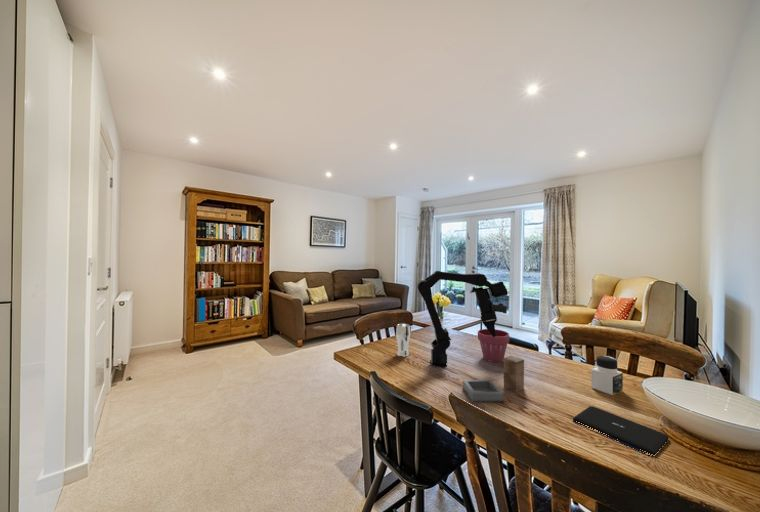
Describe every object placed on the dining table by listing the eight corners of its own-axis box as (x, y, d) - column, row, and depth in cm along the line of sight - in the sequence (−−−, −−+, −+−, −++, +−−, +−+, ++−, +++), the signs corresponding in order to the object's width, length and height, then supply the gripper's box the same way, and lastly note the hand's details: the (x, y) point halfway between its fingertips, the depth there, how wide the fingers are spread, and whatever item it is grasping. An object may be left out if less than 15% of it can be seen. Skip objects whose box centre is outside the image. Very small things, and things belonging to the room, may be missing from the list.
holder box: (472, 402, 96) (472, 393, 96) (462, 388, 106) (463, 380, 106) (503, 402, 96) (503, 393, 96) (490, 387, 106) (490, 379, 106)
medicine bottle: (613, 396, 100) (613, 362, 100) (590, 387, 107) (590, 355, 107) (623, 391, 104) (623, 358, 104) (600, 383, 110) (600, 352, 110)
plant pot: (472, 358, 136) (472, 332, 136) (484, 351, 147) (484, 327, 147) (503, 366, 127) (503, 338, 127) (513, 358, 137) (513, 332, 137)
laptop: (646, 463, 68) (646, 455, 68) (564, 419, 87) (564, 413, 87) (679, 446, 75) (679, 438, 75) (596, 408, 93) (596, 402, 93)
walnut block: (503, 387, 107) (503, 358, 107) (511, 383, 110) (511, 355, 110) (516, 392, 103) (516, 362, 103) (523, 388, 106) (523, 359, 106)
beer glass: (411, 353, 144) (411, 324, 144) (408, 358, 137) (408, 327, 137) (398, 351, 146) (398, 322, 146) (394, 356, 139) (394, 326, 139)
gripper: (503, 296, 117) (515, 334, 113) (502, 296, 134) (512, 330, 130) (476, 302, 120) (486, 339, 117) (478, 302, 137) (487, 334, 134)
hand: (494, 335), depth 124 cm, fingers open, 9 cm apart
